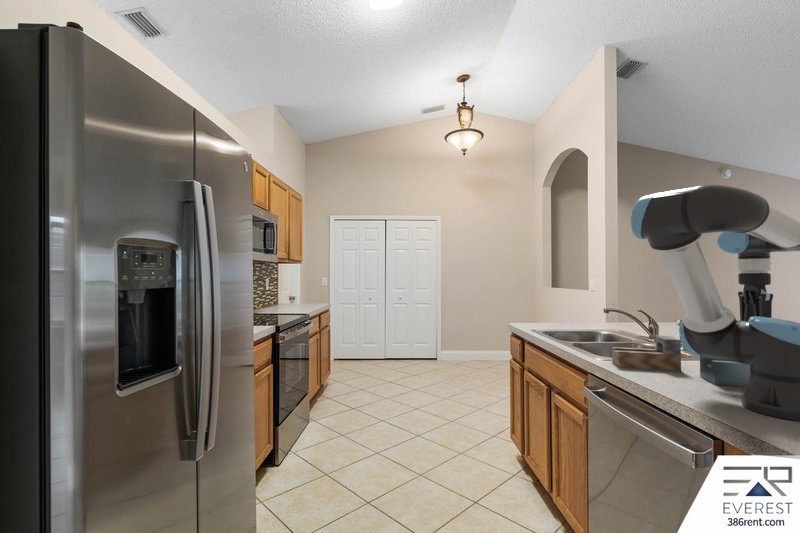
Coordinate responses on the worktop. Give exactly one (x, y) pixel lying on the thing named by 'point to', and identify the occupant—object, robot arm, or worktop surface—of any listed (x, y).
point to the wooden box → (651, 355)
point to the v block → (724, 372)
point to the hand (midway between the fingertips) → (755, 346)
